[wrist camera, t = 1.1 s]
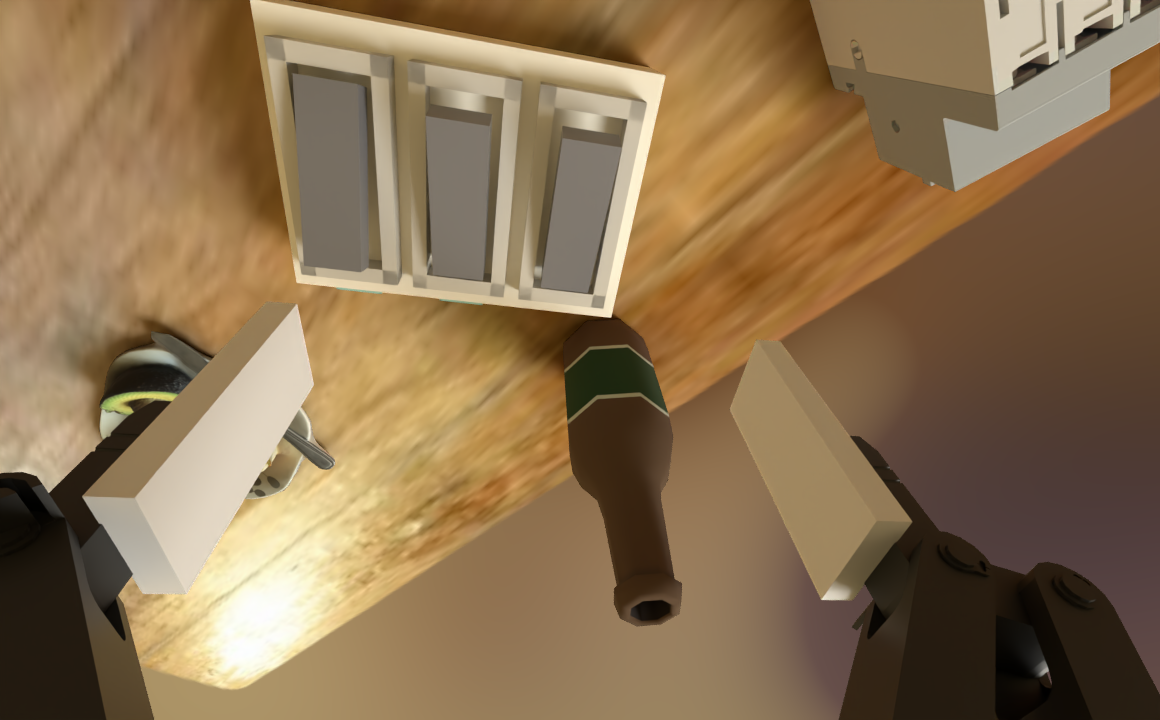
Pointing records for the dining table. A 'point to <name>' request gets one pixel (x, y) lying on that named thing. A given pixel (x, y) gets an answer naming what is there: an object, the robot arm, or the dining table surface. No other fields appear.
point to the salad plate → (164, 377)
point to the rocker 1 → (332, 172)
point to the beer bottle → (623, 461)
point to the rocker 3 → (578, 207)
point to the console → (399, 146)
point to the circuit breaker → (978, 73)
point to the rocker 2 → (458, 189)
